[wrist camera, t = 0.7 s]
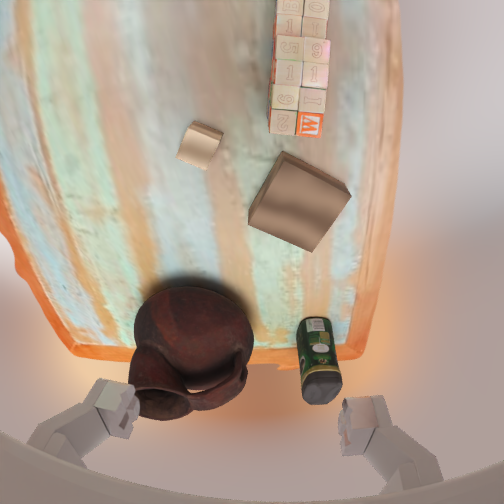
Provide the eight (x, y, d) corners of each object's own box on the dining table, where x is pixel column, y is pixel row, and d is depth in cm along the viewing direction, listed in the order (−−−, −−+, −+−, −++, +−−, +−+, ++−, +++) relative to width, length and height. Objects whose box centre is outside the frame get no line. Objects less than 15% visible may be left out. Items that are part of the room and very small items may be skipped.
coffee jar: (325, 342, 75) (335, 407, 60) (293, 341, 75) (298, 408, 60) (334, 315, 70) (349, 385, 55) (300, 314, 70) (308, 385, 55)
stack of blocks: (275, -15, 33) (281, -37, 23) (318, -10, 33) (337, -28, 23) (266, 115, 46) (268, 134, 36) (307, 119, 46) (321, 139, 36)
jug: (252, 349, 77) (250, 441, 57) (154, 342, 77) (132, 428, 57) (256, 270, 63) (254, 381, 42) (134, 265, 63) (90, 364, 42)
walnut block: (282, 150, 49) (284, 160, 45) (344, 183, 52) (351, 196, 48) (248, 209, 55) (247, 224, 51) (308, 236, 58) (311, 252, 54)
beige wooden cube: (194, 120, 46) (187, 127, 42) (223, 133, 47) (219, 141, 43) (182, 148, 49) (175, 157, 45) (210, 159, 50) (206, 170, 46)
